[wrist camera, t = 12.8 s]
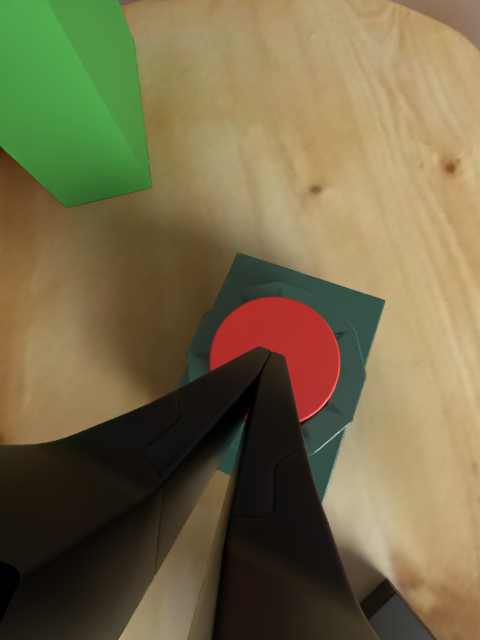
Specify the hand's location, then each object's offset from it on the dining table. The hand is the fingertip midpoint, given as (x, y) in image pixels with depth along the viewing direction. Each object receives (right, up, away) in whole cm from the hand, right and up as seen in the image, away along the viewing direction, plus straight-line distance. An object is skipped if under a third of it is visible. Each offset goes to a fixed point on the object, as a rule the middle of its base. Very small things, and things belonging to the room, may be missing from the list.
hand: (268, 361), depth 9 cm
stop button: (+1, -1, +5) cm, 5 cm away
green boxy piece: (+1, -2, +10) cm, 10 cm away
